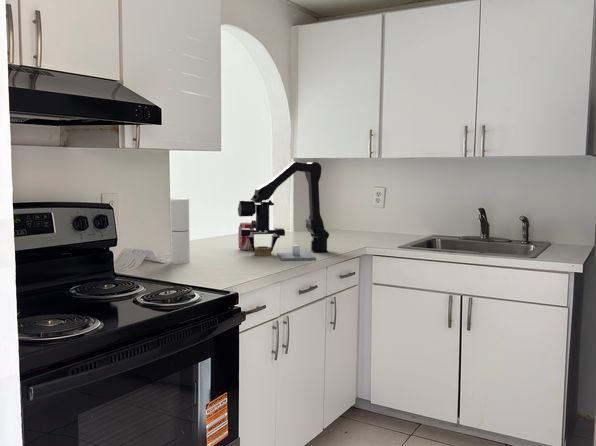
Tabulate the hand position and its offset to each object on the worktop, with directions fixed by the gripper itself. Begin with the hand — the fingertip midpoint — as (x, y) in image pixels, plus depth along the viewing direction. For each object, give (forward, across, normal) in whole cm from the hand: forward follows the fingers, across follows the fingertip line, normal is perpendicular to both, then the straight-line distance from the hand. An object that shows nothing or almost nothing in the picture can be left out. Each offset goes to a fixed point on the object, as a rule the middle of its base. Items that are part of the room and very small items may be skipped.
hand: (262, 252), depth 239 cm
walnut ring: (+1, 0, 0) cm, 1 cm away
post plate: (+1, -13, +10) cm, 16 cm away
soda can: (+1, +6, -15) cm, 16 cm away
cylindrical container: (+1, +34, +15) cm, 37 cm away
